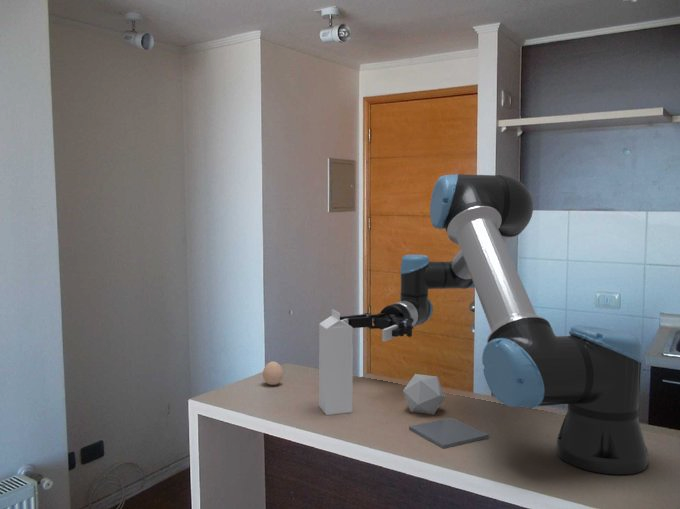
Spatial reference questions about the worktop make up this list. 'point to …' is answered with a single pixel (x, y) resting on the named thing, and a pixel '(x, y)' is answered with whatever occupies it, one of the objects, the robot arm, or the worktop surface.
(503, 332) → the robot arm
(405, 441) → the worktop surface
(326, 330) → the milk
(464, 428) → the coaster
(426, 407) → the die
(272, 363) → the egg
